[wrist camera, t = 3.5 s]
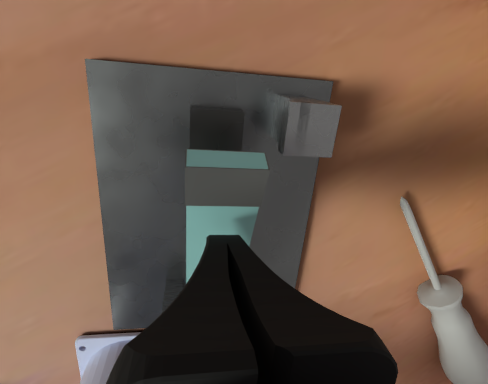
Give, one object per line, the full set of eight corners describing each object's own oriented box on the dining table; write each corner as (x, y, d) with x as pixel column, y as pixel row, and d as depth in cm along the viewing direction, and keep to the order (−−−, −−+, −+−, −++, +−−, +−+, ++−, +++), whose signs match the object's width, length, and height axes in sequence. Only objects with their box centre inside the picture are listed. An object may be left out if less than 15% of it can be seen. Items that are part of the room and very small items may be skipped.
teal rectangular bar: (228, 309, 22) (229, 332, 21) (186, 311, 22) (185, 334, 20) (264, 148, 12) (271, 174, 11) (186, 144, 11) (184, 171, 10)
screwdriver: (401, 173, 24) (451, 183, 20) (471, 355, 33) (515, 386, 29) (358, 207, 24) (401, 224, 20) (441, 383, 32) (482, 419, 28)
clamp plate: (286, 313, 26) (308, 372, 21) (116, 321, 23) (94, 390, 18) (327, 81, 19) (376, 85, 14) (90, 59, 16) (42, 55, 11)
